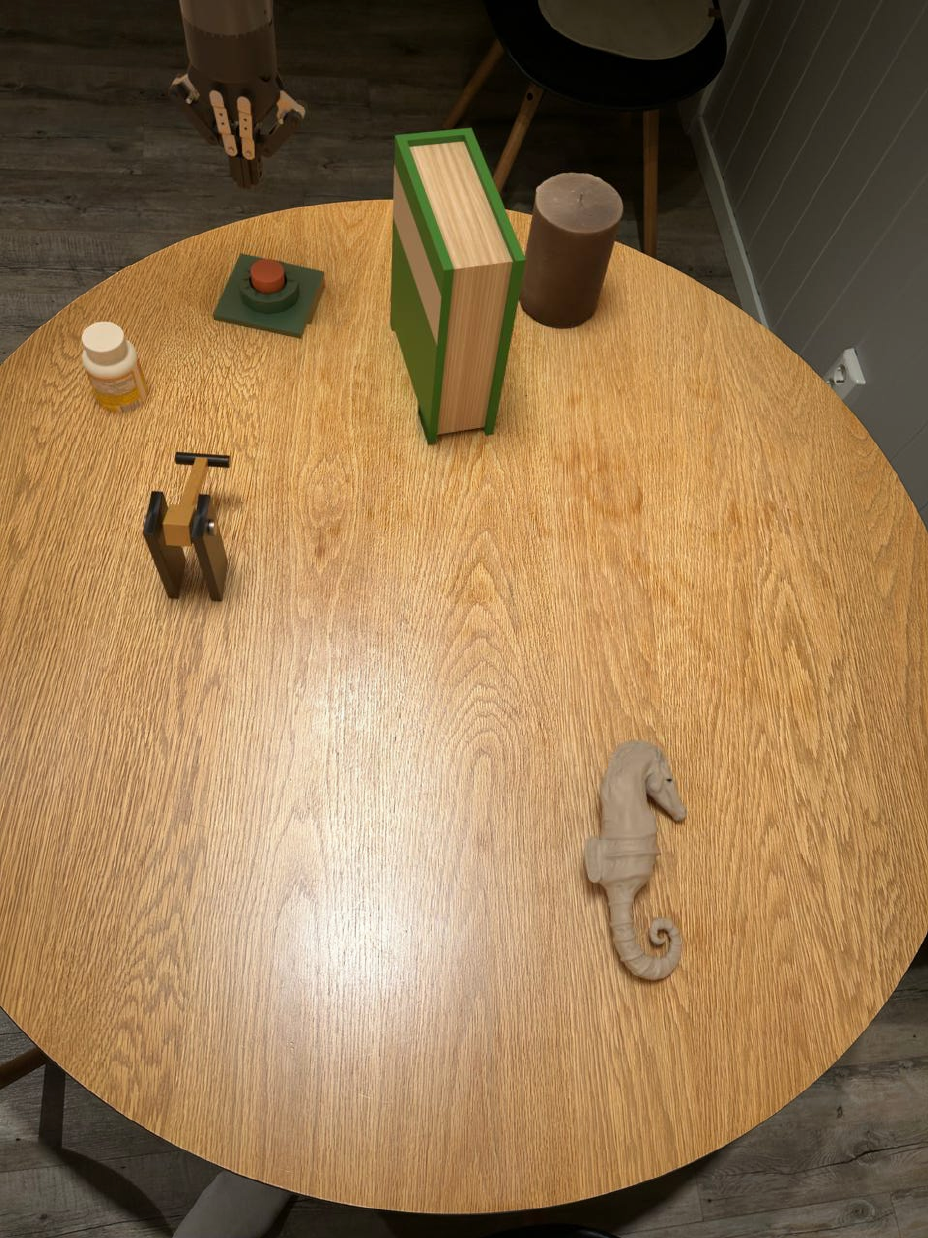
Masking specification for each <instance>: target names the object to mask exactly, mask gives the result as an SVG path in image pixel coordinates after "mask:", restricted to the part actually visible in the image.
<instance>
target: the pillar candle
mask: <svg viewBox="0 0 928 1238" xmlns="http://www.w3.org/2000/svg"><path fill="white" fill-rule="evenodd" d="M623 213H624V204H623V200H622V198H621V196H620V194H619V193H618V192H617V190H616V189H615V188H614V187H612V185H611V184H609V183H608V182H606V181H604V180H603V179H602V178H601V177H598V176H594V175H592V174H589V173H576V172H568V173H567V172H566V173H565V172H563V173H560V174H557V175H555V176H551V177H549V178H548V179H546V180H544V181H543V182H542V183H541V184H540V185H538V186H537V187H536V189H535V198H534V203H533V208H532V215H531V220H530V223H529V224H530V225H529V231H528V237H527V242H526V246H525V252H524V256H525V258H526V263H525V268H524V274H523V279H522V285H521V290H520V295H519V302H520V306H521V307H522V309H523V310H524V311H525V312H526V313H527V314H528V316H530V317H532V318H533V319H534V320H535V321H537V322H538V323H541V324H543V325H545V326H548V327H553V328H561V329H562V328H563V329H564V328H570V327H571V328H572V327H577V326H581V325H583V324H584V323H585V322H587V321H588V320H589V319H590V318H592V317H593V315H594V314H595V312H596V310H597V308H598V304H599V299H600V297H601V294H602V291H603V286H604V282H605V279H606V276H607V272H608V268H609V264H610V260H611V257H612V252H613V249H614V246H615V242H616V239H617V234H618V231H619V228H620V224H621V220H622V217H623Z"/></svg>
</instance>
